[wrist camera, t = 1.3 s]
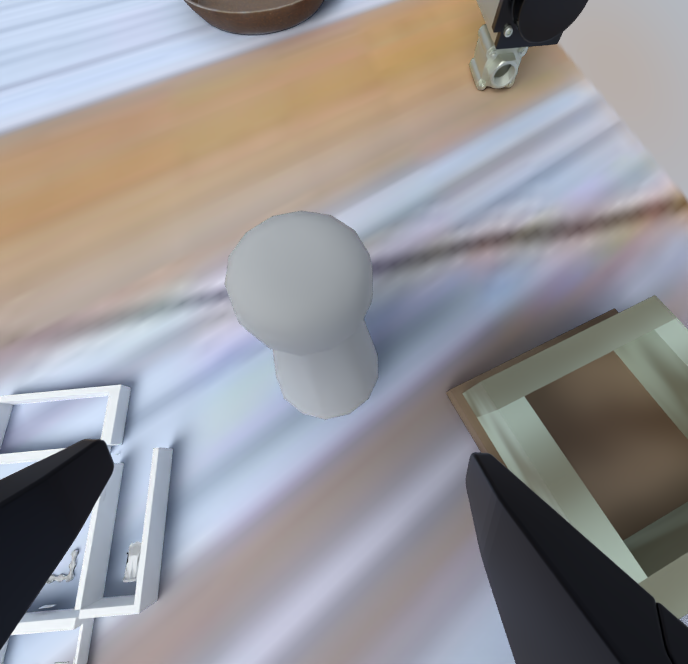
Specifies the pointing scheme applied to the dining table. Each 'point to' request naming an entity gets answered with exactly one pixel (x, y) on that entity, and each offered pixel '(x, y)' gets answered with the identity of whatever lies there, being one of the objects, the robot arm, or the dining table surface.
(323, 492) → the dining table surface
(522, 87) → the dining table surface
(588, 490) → the holder
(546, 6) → the pneumatic valve
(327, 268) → the grey round-headed cylinder
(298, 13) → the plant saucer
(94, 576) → the floor plan model
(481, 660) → the dining table surface
